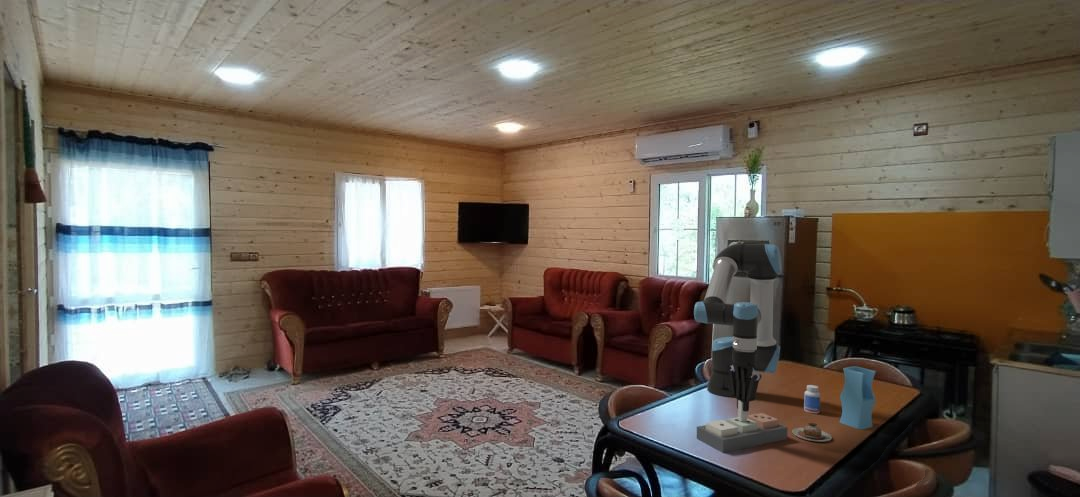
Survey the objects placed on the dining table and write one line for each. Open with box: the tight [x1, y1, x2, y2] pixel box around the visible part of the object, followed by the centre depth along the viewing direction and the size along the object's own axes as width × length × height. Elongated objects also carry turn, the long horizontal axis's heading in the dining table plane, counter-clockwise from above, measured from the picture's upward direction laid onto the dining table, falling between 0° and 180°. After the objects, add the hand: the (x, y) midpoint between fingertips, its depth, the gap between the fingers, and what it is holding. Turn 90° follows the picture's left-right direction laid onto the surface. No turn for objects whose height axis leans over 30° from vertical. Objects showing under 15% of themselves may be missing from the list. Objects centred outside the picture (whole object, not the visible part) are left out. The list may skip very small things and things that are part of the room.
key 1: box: [705, 419, 738, 437], centre depth 172 cm, size 7×7×4 cm
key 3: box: [747, 412, 779, 429], centre depth 179 cm, size 7×7×4 cm
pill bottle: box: [803, 384, 821, 414], centre depth 204 cm, size 6×5×10 cm
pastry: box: [791, 422, 833, 443], centre depth 179 cm, size 12×12×5 cm
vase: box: [839, 366, 877, 430], centre depth 190 cm, size 8×8×20 cm
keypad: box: [696, 420, 788, 453], centre depth 176 cm, size 12×28×4 cm, turn 114°
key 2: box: [726, 416, 759, 433], centre depth 176 cm, size 7×7×4 cm
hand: (742, 419), depth 176 cm, fingers closed
